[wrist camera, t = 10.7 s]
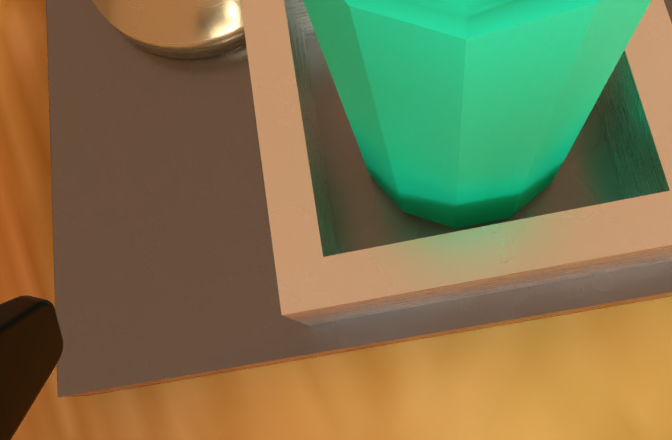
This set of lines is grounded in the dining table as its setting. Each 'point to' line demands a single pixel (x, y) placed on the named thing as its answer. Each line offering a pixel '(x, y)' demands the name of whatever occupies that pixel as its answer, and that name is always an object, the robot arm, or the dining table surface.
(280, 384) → the dining table surface
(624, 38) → the candle
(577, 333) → the dining table surface
